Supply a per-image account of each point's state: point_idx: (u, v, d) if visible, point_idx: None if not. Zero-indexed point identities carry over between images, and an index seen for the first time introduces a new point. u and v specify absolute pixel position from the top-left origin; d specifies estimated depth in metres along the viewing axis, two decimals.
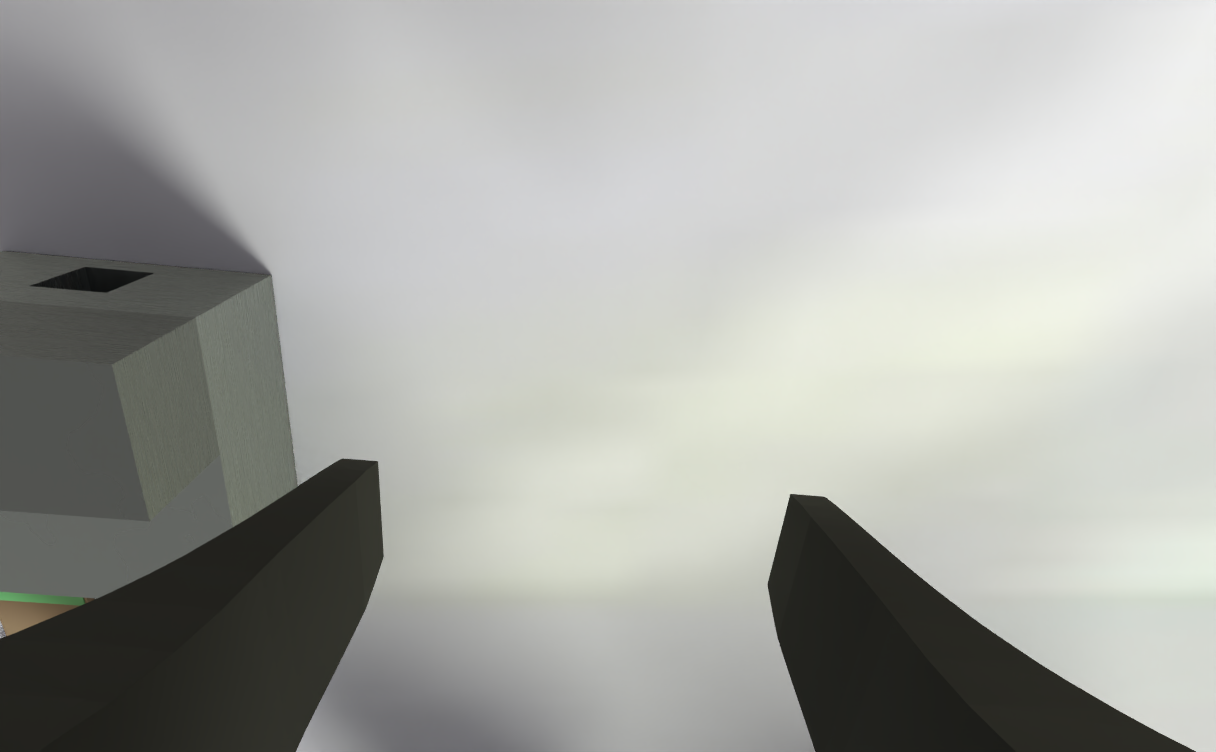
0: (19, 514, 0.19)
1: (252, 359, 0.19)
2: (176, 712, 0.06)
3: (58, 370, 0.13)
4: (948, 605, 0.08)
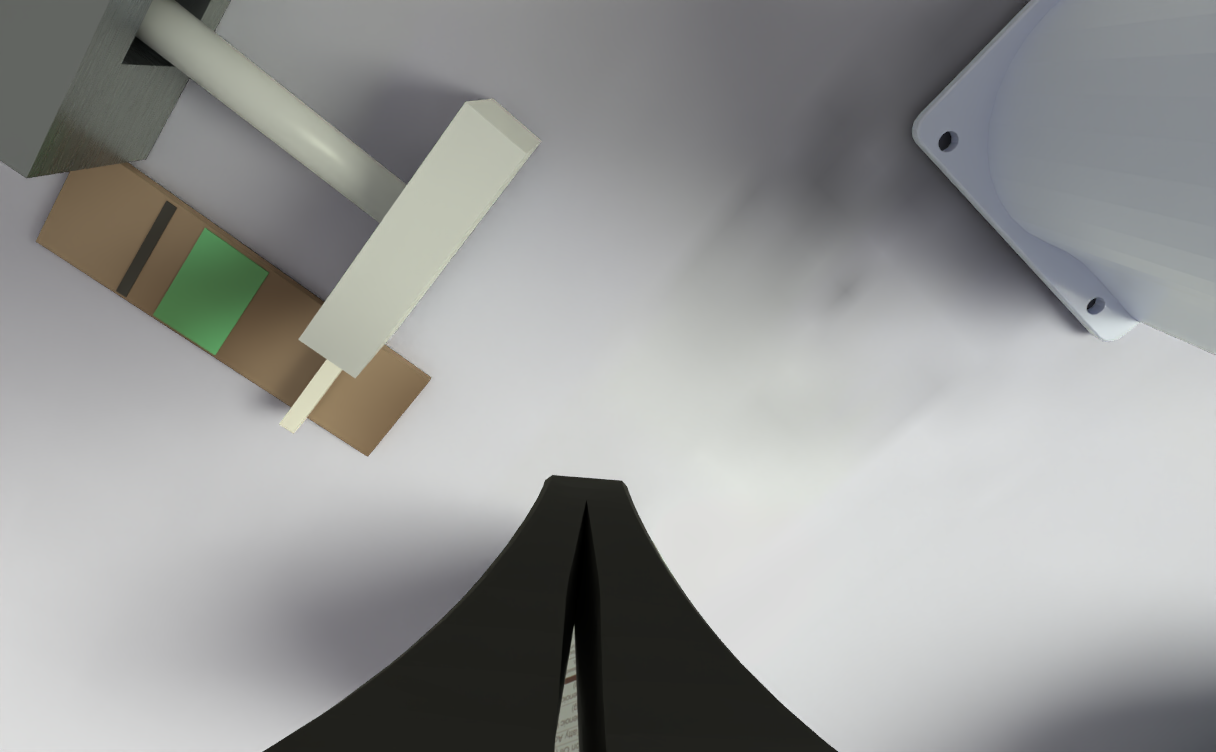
0: None
1: None
2: None
3: None
4: (669, 585, 0.08)
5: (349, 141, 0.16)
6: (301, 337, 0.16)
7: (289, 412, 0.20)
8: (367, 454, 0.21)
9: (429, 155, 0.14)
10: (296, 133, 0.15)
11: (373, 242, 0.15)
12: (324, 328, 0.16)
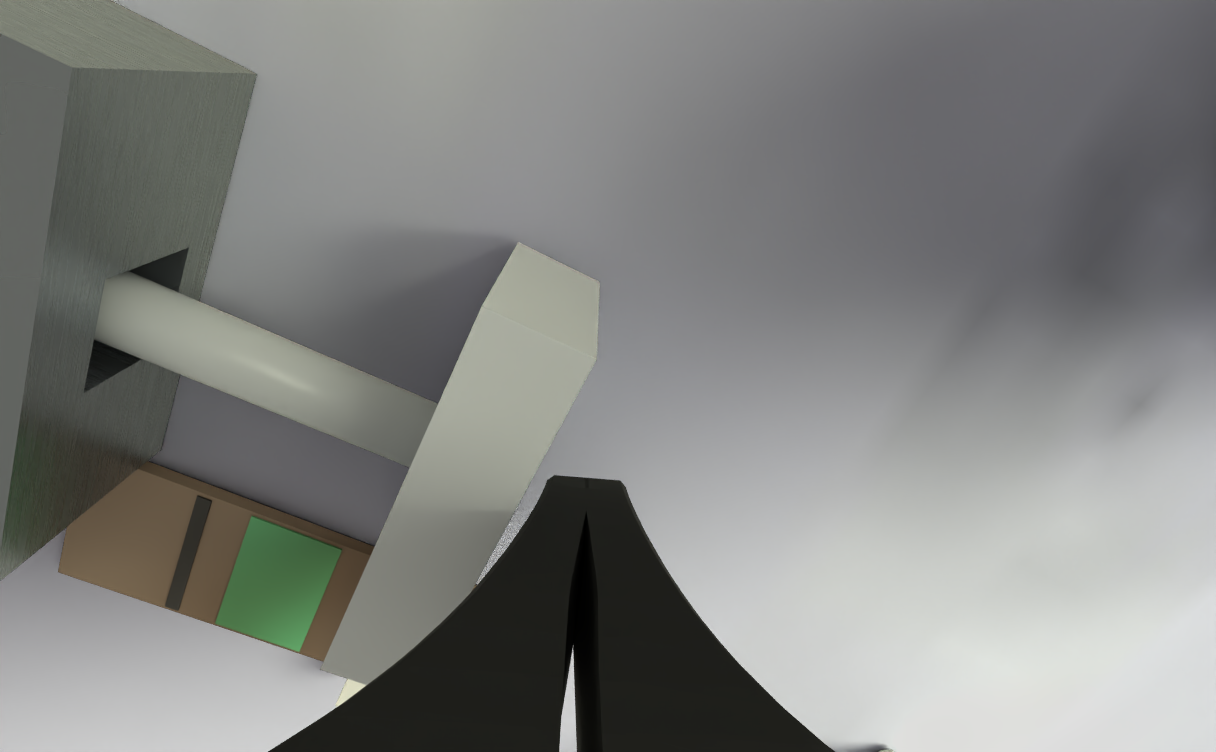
0: None
1: None
2: None
3: None
4: (666, 585, 0.08)
5: (329, 364, 0.11)
6: (323, 666, 0.11)
7: (344, 690, 0.15)
8: None
9: (444, 396, 0.09)
10: (250, 379, 0.10)
11: (391, 529, 0.09)
12: (352, 649, 0.10)
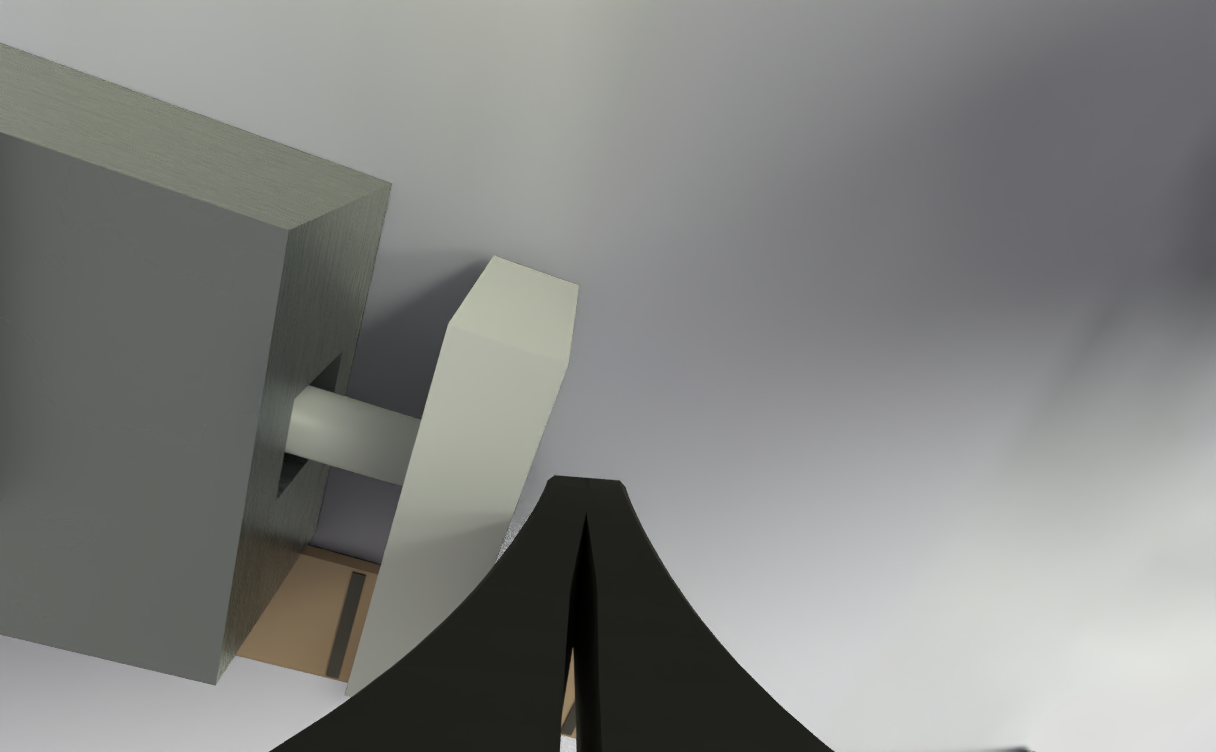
0: (19, 547, 0.10)
1: None
2: None
3: None
4: (666, 585, 0.08)
5: (322, 396, 0.11)
6: (347, 691, 0.11)
7: None
8: None
9: (424, 416, 0.09)
10: None
11: (392, 552, 0.10)
12: (373, 672, 0.11)
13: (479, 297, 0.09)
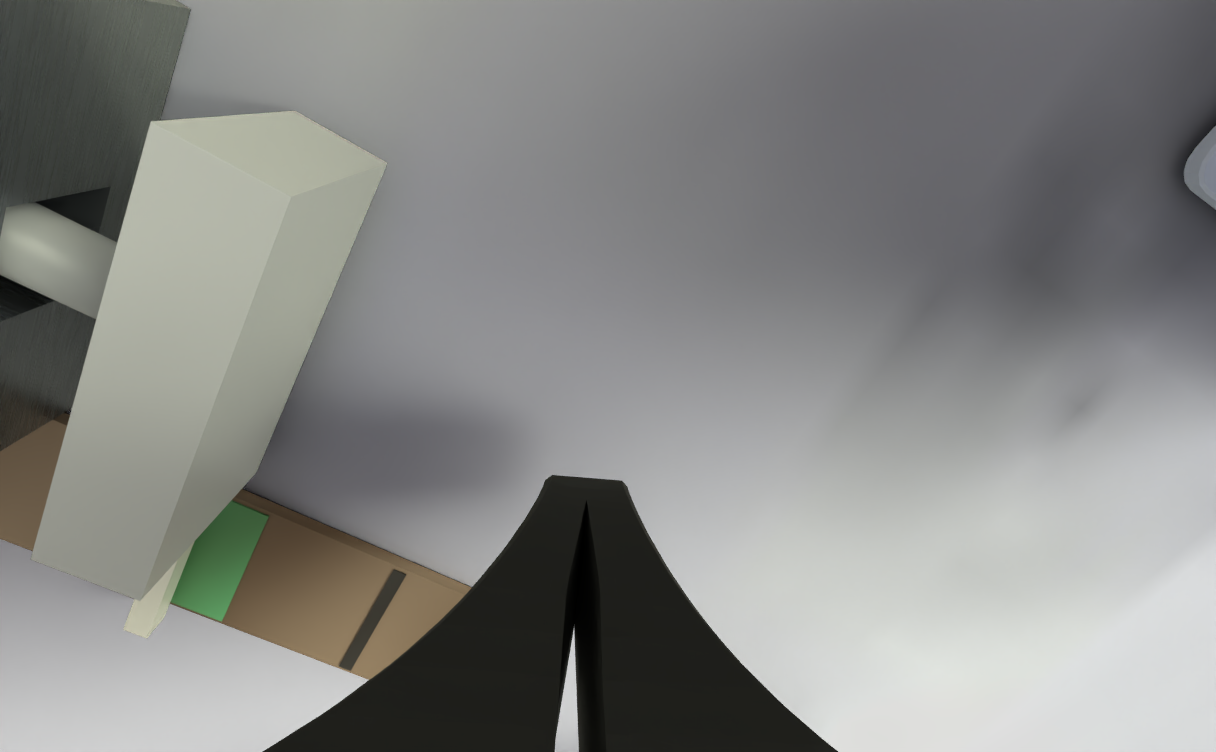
0: None
1: None
2: None
3: None
4: (669, 585, 0.08)
5: (62, 223, 0.10)
6: (33, 555, 0.10)
7: (132, 613, 0.14)
8: None
9: (123, 231, 0.08)
10: None
11: (86, 393, 0.08)
12: (64, 536, 0.09)
13: (228, 123, 0.08)
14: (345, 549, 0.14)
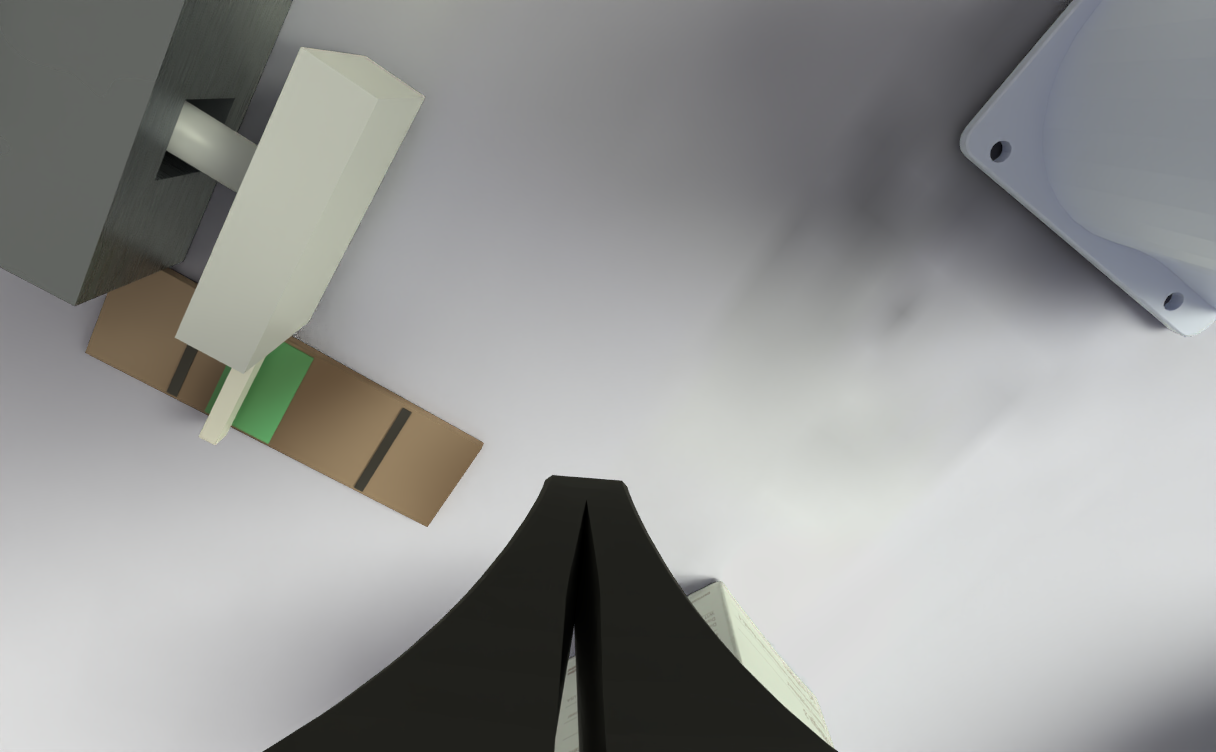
0: None
1: None
2: None
3: None
4: (669, 585, 0.08)
5: (208, 117, 0.15)
6: (177, 334, 0.14)
7: (207, 423, 0.18)
8: (426, 524, 0.21)
9: (273, 113, 0.13)
10: None
11: (232, 219, 0.13)
12: (200, 321, 0.14)
13: (335, 55, 0.13)
14: (368, 389, 0.19)
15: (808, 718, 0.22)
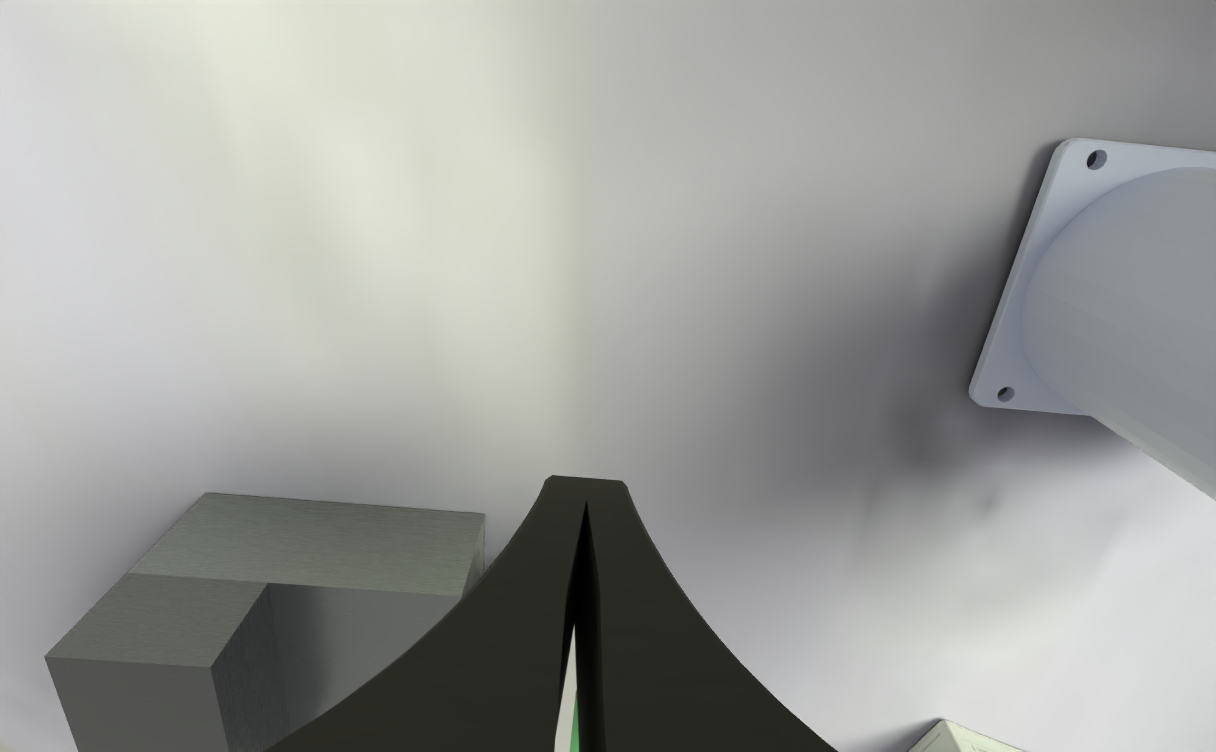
0: None
1: (242, 528, 0.21)
2: None
3: (66, 690, 0.16)
4: (669, 585, 0.08)
5: None
6: None
7: None
8: None
9: None
10: None
11: None
12: None
13: None
14: None
15: None
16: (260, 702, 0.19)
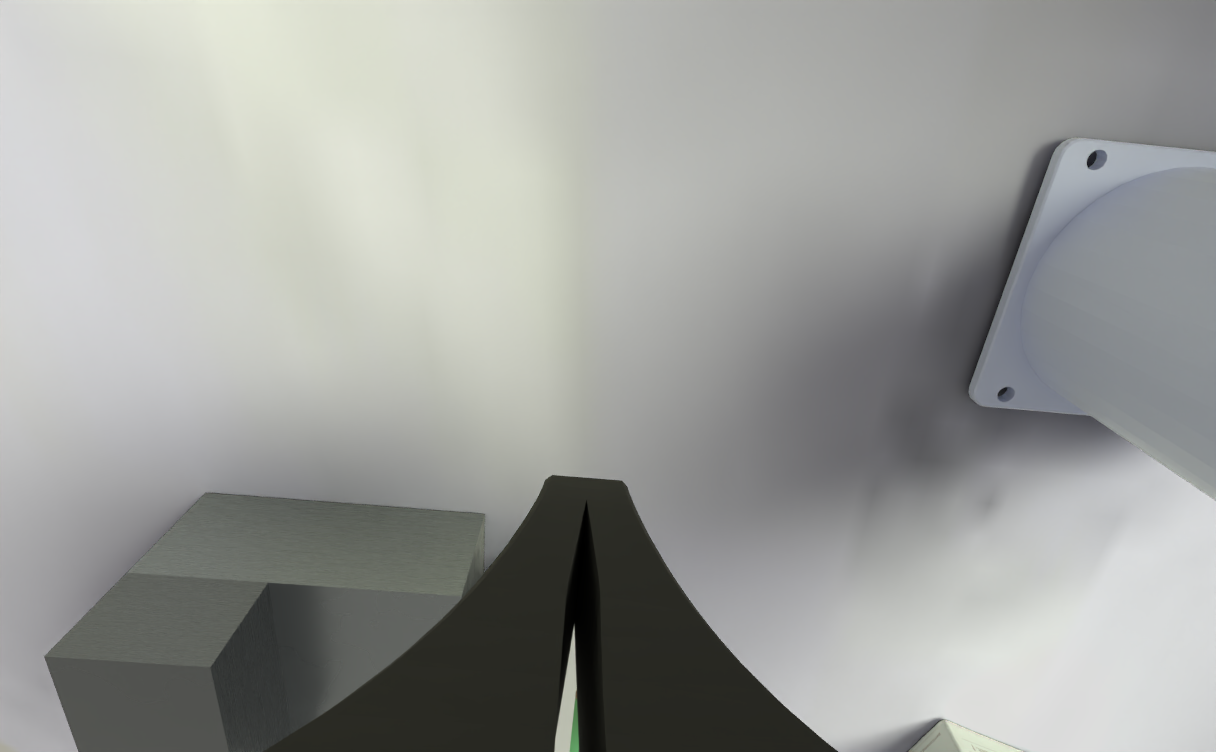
0: None
1: (242, 528, 0.21)
2: None
3: (66, 690, 0.16)
4: (669, 585, 0.08)
5: None
6: None
7: None
8: None
9: None
10: None
11: None
12: None
13: None
14: None
15: None
16: (260, 702, 0.19)
